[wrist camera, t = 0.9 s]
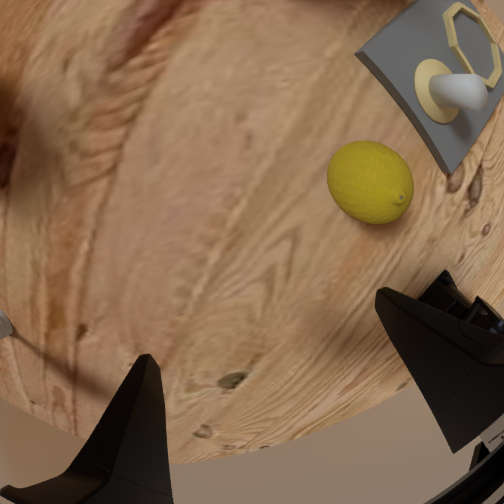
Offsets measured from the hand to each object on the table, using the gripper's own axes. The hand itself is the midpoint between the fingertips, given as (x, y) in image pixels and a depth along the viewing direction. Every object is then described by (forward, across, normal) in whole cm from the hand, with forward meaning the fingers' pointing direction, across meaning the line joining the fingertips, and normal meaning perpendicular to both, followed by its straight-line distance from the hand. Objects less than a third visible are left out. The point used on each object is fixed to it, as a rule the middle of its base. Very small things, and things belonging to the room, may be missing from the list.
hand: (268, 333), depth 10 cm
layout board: (+12, -24, -12) cm, 30 cm away
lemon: (+13, -10, -1) cm, 16 cm away
